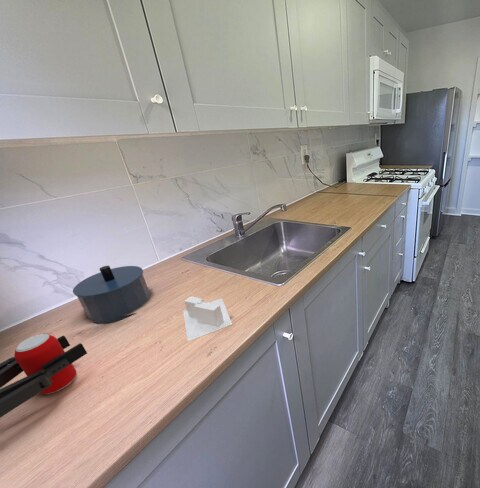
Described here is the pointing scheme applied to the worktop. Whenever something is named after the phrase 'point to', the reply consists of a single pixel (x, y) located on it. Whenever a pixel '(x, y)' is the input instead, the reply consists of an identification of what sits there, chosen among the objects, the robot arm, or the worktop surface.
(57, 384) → the beverage can
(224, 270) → the worktop surface
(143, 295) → the pot
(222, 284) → the worktop surface
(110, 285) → the pot lid
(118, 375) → the worktop surface
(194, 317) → the napkin holder
